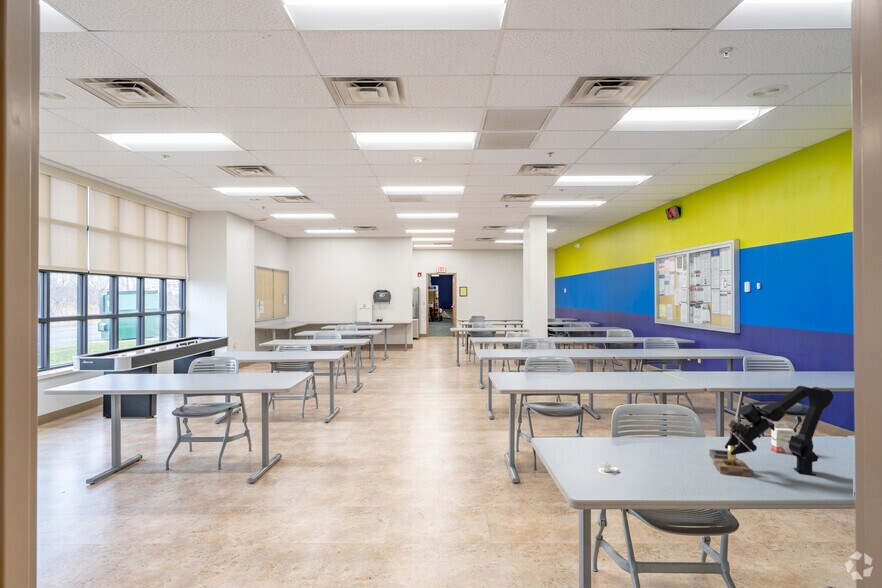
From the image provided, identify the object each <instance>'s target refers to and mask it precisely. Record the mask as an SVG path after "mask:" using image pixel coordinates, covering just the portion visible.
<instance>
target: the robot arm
mask: <svg viewBox="0 0 882 588" xmlns="http://www.w3.org/2000/svg"><path fill="white" fill-rule="evenodd" d="M807 397H808V398H807ZM805 398H807V399H808V402H809V405H808V408H807V411H806V414H805V416H804V419H803V422H802V424H801V427H800V430H799V432H798V433H797V434H796V435H794V436H793V435H792V436H791V439H790V441H789V443H788V444H789V449H790V451H791V453H790V454H791V455H792V456H794V457H796V467H793V468H792V469H793V470H794V471H796V473H798V474H800V475H813V476H816V475H817V473H816V472H814V470H813V469H814V468H813V464H814V462H818V460H819V455H817V454H816V452H815V451H814V443H813V437H814V435H815V432H816V429H817V426H818V424H819V421H820V419H821V416H822V413H823V411H824V409H826V408H827V407H828V406H831V405H830V404H831V403H832V401H833V400H834V394H833V392H832V390H830V389H826V388H822V387H818V386H814V387H808V386H805V385H798V386H796V387H795V389H794V390H792V391H791V392H789V393H788V394H786V395H785V396H784V397H782V398H780V399H779V400H778V401H775V402H773V403H768V404H766V405H764V406H762V407H761V408H757V406H755V404H753V403H751V402H749V403H748V404H746V405H744V406H741V407H740V409H739V411H738V412H739V414H740V415H741V416H742V417H743V418H744V419H745V420H746V421H747V422H749V423H750V424H747V423H746V424H745V425H744V424H743V423H741V422H737V421H735V420H734V419H732V420H731V421H730V423H729V424H728V427H730V430H729V434H730V437H729V438H728V440H727V442H726V444H725V445H724V448H725V449H726V450H728V445H734V446H736V447H735V448H734V450H733V451H732V452H731V453H730V454H731V455H736V456H737V455H740V454H745V453H752V452H753V453H754V452H755V451H757V449H758V446H757V445H756V444H755V443H754V440H756V439H757V438H759V439H760V438H762V434H764V433H765V432H766V431H768V429H770V430H771V429H772V430H773V431H774V430H775V428H774V424H773V423H772V422H780V421H781V420H782V419H783V418H784V417H785V415H786V413H787V411H788V410H790V409H791V408H792V407H794V406H796V405H797V404H798V403H800V402H801V401H802V400H804V399H805Z"/></svg>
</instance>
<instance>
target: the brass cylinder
mask: <svg viewBox="0 0 882 588" xmlns="http://www.w3.org/2000/svg"><path fill="white" fill-rule="evenodd" d="M736 446H737V445H736ZM736 446H734V445H728V448H727V451H728V465H732V466H736V460H737V454H736V455H731V454H730V453H731V452H732V451H733V450H734V448H735V447H736Z"/></svg>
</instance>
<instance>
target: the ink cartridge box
mask: <svg viewBox="0 0 882 588" xmlns="http://www.w3.org/2000/svg"><path fill="white" fill-rule="evenodd" d="M771 422H772V423H773V424H774V428H775V430H774V431H773V430H772V429H771V428H770V430H771V432H770V435H771V436H770V437H771V439H770V440H771V441H770V442H771V443H770V446H771V447H770V450H771V451H773V452H775V453H780V454H792V453H791V451H790V449H789V444H788V443H789V441H790V439H791V436H792V435H793V436H795V430H794V429H792V428H789V425H790V423H789V421H777V422H775V421H771Z"/></svg>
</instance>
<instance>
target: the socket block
mask: <svg viewBox="0 0 882 588" xmlns="http://www.w3.org/2000/svg"><path fill="white" fill-rule="evenodd" d="M709 456H710V457H711V459H712V460H713V458H720V459H728V450H724V449H723V450H722V449H721V450H720V449H711V448H710V449H709Z"/></svg>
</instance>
